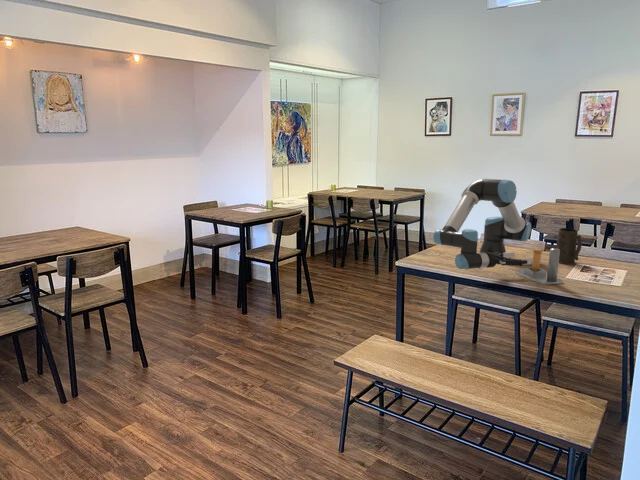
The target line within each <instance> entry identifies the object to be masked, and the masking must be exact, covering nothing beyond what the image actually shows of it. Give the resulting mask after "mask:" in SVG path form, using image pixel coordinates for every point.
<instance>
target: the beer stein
mask: <svg viewBox="0 0 640 480" xmlns="http://www.w3.org/2000/svg"><path fill="white" fill-rule="evenodd" d="M582 246H583V245H582V235H580V234H579V233H578V230H577V229H575V228H574V229H573V228H565V227H562V228H559V230H558V236H557V239H556V247H555V248H557V249H560V255H559V264H562V265H573V264H575V263H576V261H579V254H580V252H581V250H582Z"/></svg>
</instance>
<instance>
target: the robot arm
mask: <svg viewBox="0 0 640 480" xmlns="http://www.w3.org/2000/svg"><path fill="white" fill-rule="evenodd" d="M517 194H518V193H517V186H516V184H515V182H514V181H513V180H509V179H494V178H480V179H477V180H475V181H473V182H472V183H470V184H469V185H468V186H467V187H466V188H465V189H464V190H463V191H462V193H461V196H460V197H461V198H460V200H459V201H458V204H457V205H456V206H455V208H454V209H453V211H452V213H451V215H450V216H449V218H448V219H447V222H446V223H445V224H444V226H443V227H442V229H436V230H434V233H433V237H432V238H433V239H432V240H433V242H434V243H435V244H436V245H440V246H448V247H453V248H458V249H459V248H460V253H459V254H456V255H455V257H454V264H455V267H456V268H457V269H459V270H472V269H479V270H481V269H486V268H494V267H495V266H496V265H501V266H510V267H511V266H512V267H513V266H516V267H523V265H532V261H533V257H532V258H519V259H516V258H515V251H513V252H512V251H511V252H508V251H506V248H505V242H504V241H505V240H508V241H509V240H510V241H516V242H527V241H528V240H529V238H530V235H531V231H532V223H531V222H529V221H526V220H525V219H524V217H522V216H520V214H519V211H518V208H517V206H516V204H515V202H514V201H515V200H516V198H517ZM480 201H481V202H482V201H486V202H491V203H492V205H493V206H495V207H496V208H497V209H498V210H499V211H498V212H499V213H500V215H501V216H491V217H486V218H485V221H484V225H483V226H484V227H483V229H484V230H483V242H482V244H481V246H480V249H479V252H478V243H479V242H478V241H479V232H478V231H477V230H476V229H469V228H464V229H463V230H461V228H462V226H463V225H464V223H465V221H466V220H467V218H468V216H469V215H470V213H471V211H472V209H473V208H474V207H475V206H476V205H478V203H479V202H480ZM460 230H461V232H459V231H460Z"/></svg>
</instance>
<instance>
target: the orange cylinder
mask: <svg viewBox="0 0 640 480" xmlns="http://www.w3.org/2000/svg"><path fill="white" fill-rule="evenodd" d="M532 251H533V255H532V264H531V267H532V268H531V270H533V271H539V268H540V266H541V259H542V253H543V249H541V248H533V249H532Z"/></svg>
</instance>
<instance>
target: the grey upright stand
mask: <svg viewBox="0 0 640 480" xmlns="http://www.w3.org/2000/svg"><path fill="white" fill-rule="evenodd" d="M559 255H560V249H557V248H556V247H554V248H553V247H551V248H549V255H548V256H549V257H548V264H547V270H545V269H543V268H540V267H539V271H533V270H531V268H532V266H531V267H524V268H523V269H520V270H518V269H517V270H514V274H517V275H519V276H521V277H523V278H525V279H528V280H531V281H533V282H535V283H537V284H539V285H542V286H546V285H548V286H549V285H560V284H564V283H565V280H563V279H560V278H558V272H559V265H560V263H559Z"/></svg>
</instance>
